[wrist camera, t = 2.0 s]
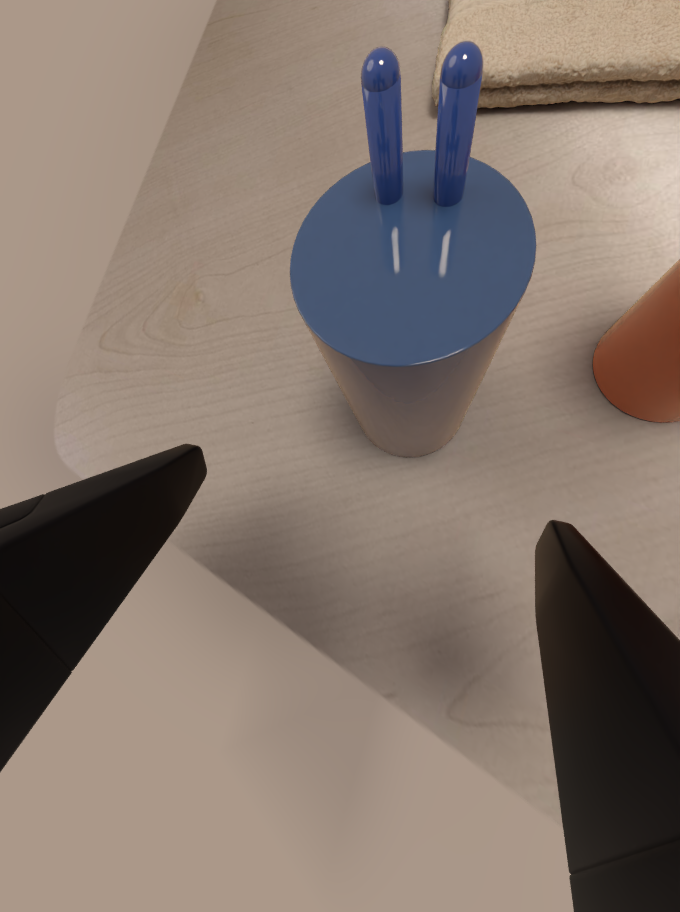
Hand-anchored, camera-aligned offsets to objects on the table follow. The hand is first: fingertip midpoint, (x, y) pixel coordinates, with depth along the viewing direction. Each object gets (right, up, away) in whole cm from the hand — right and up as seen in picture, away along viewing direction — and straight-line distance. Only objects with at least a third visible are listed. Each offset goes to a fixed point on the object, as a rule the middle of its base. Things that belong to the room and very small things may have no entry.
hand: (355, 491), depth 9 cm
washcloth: (+15, +29, +15) cm, 36 cm away
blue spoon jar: (+4, +4, +13) cm, 14 cm away
